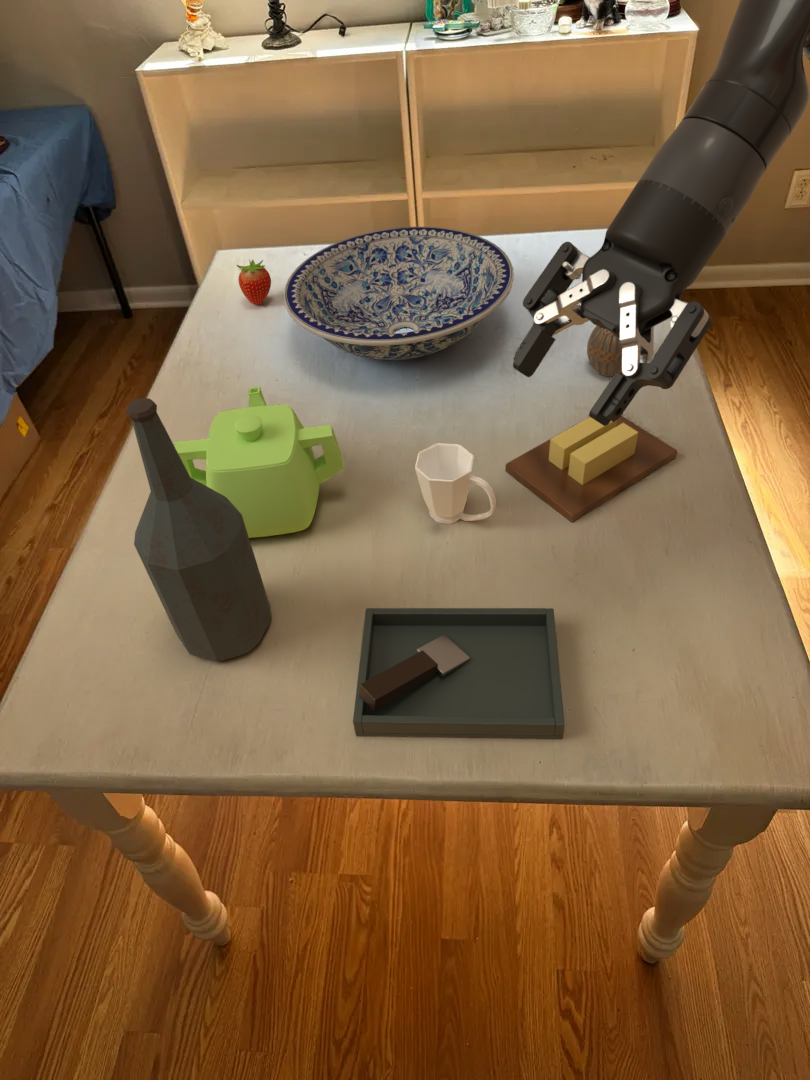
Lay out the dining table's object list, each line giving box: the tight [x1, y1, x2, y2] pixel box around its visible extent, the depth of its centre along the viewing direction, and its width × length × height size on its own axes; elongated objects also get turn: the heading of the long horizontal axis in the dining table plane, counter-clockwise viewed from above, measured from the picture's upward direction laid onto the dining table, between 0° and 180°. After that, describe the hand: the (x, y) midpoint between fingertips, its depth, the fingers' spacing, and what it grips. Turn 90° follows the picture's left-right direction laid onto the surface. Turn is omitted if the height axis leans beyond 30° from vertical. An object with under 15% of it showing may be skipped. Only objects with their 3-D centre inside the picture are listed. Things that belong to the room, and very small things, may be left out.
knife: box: [359, 635, 470, 711], centre depth 77 cm, size 4×2×12 cm
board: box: [504, 415, 678, 523], centre depth 99 cm, size 18×12×1 cm, turn 126°
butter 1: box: [549, 416, 617, 470], centre depth 98 cm, size 9×2×4 cm, turn 126°
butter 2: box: [568, 423, 638, 485], centre depth 96 cm, size 9×2×4 cm, turn 126°
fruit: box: [236, 259, 272, 306], centre depth 130 cm, size 5×5×8 cm
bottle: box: [125, 397, 272, 663], centre depth 75 cm, size 10×10×30 cm
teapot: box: [173, 386, 345, 539], centre depth 95 cm, size 18×20×13 cm
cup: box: [414, 442, 497, 525], centre depth 92 cm, size 7×10×8 cm
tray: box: [352, 607, 565, 740], centre depth 78 cm, size 20×14×3 cm
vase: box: [586, 325, 622, 378], centre depth 110 cm, size 7×7×9 cm
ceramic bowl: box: [283, 226, 515, 361], centre depth 120 cm, size 34×34×10 cm
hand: (557, 395), depth 61 cm, fingers open, 8 cm apart
